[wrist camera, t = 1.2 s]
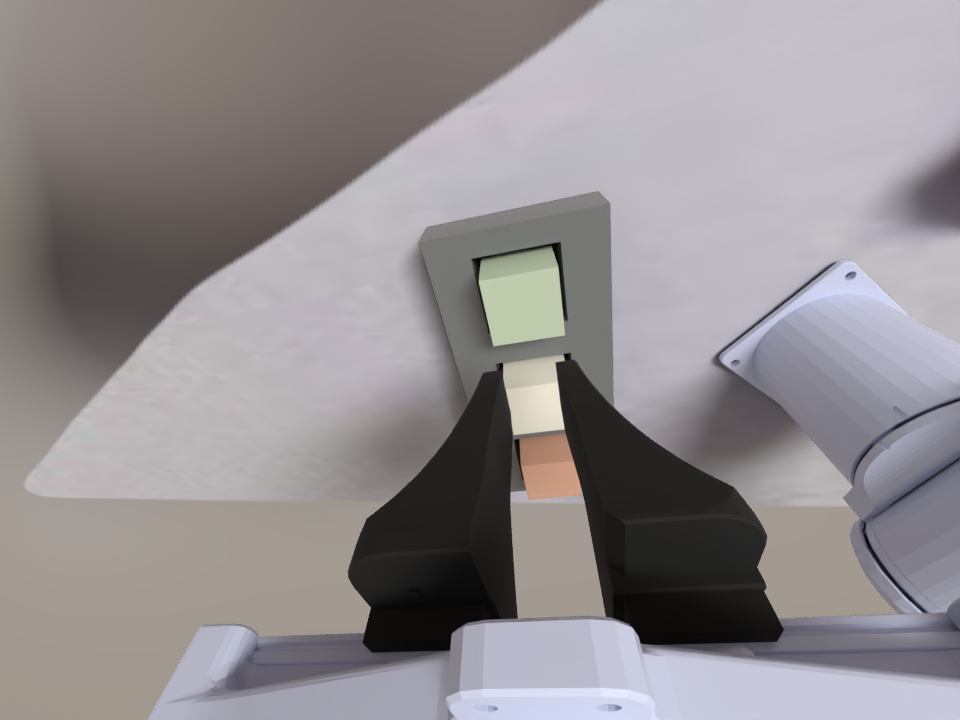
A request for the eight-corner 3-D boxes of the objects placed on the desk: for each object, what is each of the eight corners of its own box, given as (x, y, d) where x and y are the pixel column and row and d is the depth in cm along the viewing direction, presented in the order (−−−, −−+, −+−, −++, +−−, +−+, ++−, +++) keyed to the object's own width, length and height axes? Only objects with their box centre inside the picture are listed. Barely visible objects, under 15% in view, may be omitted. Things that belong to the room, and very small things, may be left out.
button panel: (607, 455, 30) (614, 482, 28) (495, 467, 32) (495, 493, 30) (598, 191, 19) (610, 203, 17) (426, 227, 20) (418, 242, 18)
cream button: (567, 394, 25) (574, 428, 22) (512, 402, 25) (513, 435, 23) (562, 349, 23) (569, 380, 20) (503, 358, 23) (503, 389, 21)
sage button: (557, 307, 21) (565, 335, 19) (494, 317, 22) (493, 346, 19) (550, 244, 19) (558, 266, 17) (481, 257, 20) (478, 281, 17)
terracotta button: (574, 460, 28) (581, 495, 26) (526, 465, 29) (528, 499, 27) (570, 426, 26) (577, 460, 24) (519, 432, 27) (520, 466, 25)
